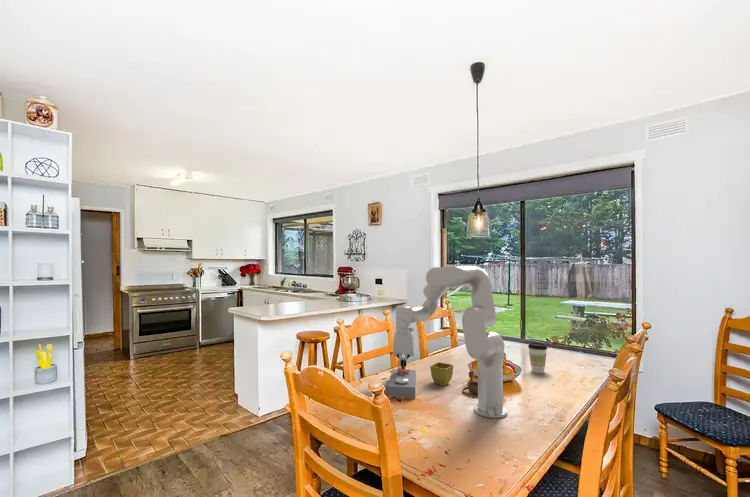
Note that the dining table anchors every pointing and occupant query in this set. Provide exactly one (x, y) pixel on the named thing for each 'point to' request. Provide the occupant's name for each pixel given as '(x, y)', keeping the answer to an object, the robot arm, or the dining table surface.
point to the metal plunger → (402, 380)
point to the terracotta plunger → (402, 370)
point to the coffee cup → (537, 356)
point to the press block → (402, 385)
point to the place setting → (472, 386)
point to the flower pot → (441, 373)
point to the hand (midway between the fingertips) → (403, 367)
